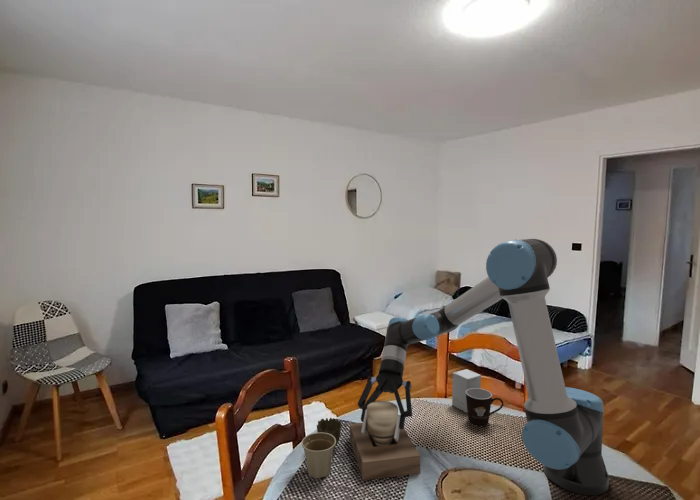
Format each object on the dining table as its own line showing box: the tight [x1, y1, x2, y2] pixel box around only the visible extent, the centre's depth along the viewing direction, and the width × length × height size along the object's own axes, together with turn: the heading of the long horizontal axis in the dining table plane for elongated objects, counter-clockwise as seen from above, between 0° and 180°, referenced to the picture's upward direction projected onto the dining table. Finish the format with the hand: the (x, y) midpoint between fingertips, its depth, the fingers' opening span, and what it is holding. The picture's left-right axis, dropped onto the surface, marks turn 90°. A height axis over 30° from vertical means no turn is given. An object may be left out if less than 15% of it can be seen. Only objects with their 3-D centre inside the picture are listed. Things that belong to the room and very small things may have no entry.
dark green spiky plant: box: [316, 417, 342, 451], centre depth 117 cm, size 8×7×8 cm
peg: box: [367, 400, 399, 447], centre depth 114 cm, size 9×9×11 cm
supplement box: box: [451, 368, 482, 414], centre depth 143 cm, size 7×7×13 cm
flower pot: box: [301, 432, 337, 479], centre depth 107 cm, size 9×9×9 cm
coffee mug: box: [466, 388, 504, 427], centre depth 131 cm, size 12×9×10 cm
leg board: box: [349, 422, 421, 481], centre depth 114 cm, size 20×16×5 cm
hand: (379, 436), depth 111 cm, fingers closed on peg, 9 cm apart
